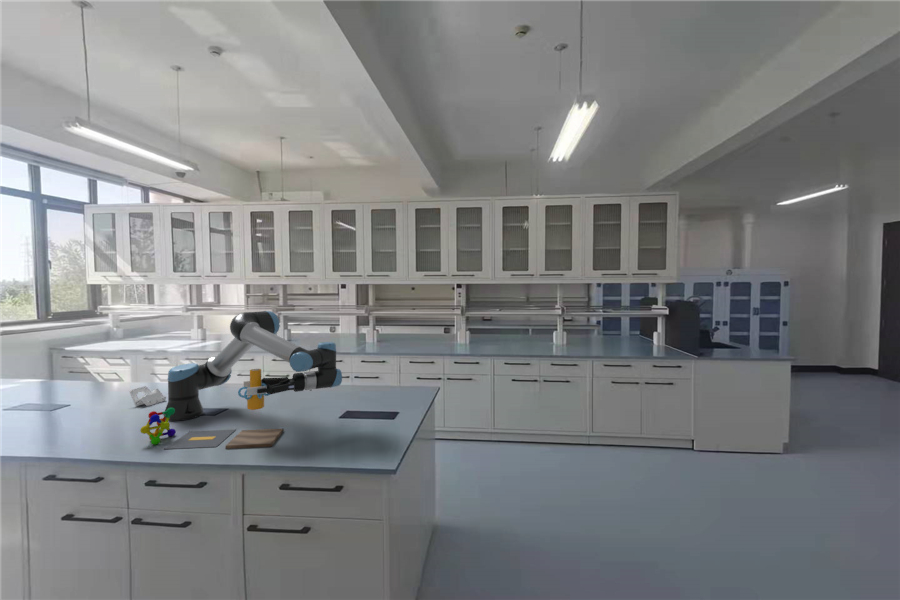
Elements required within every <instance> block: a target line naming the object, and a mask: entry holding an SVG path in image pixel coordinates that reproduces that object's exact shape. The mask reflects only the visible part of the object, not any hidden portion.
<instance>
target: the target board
mask: <svg viewBox="0 0 900 600" xmlns="http://www.w3.org/2000/svg"><path fill="white" fill-rule="evenodd" d="M282 433H284V428H267V429H266V428H264V429H262V428H261V429H259V428H258V429H242V430H241V431H240V432H238V433H237V434H236V435H235V436H234V437H233V438H232V439H231V440H230V441H229V442H228V443H226V444H225V449H229V450H230V449H250V448H271V447H272V446H273V445H274V443H275V442H276V441H277V440H278V439H279V437H281V434H282Z"/></svg>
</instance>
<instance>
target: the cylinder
mask: <svg viewBox="0 0 900 600" xmlns="http://www.w3.org/2000/svg"><path fill="white" fill-rule="evenodd" d="M261 379H262V369H261V368H252V369H249V381H250V388H252V387H260V386H262V385H264V386H266V388H267V385H266V384H264V383H262V384H261ZM247 388H248V387H244V386H242V387H240V388H239V389H238V391H237V394H238V396H239V397H241V398H243V399H245V400H246V401H247V403H246V404H247V405H246V408H247V409H248V410H250V411H254V410H260V409H263V408H264V407H265V397H268V396H270V395H271V394H268V393H265V394H257V395H249V396H247ZM242 390H244V395H242V394H241V392H242Z"/></svg>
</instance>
